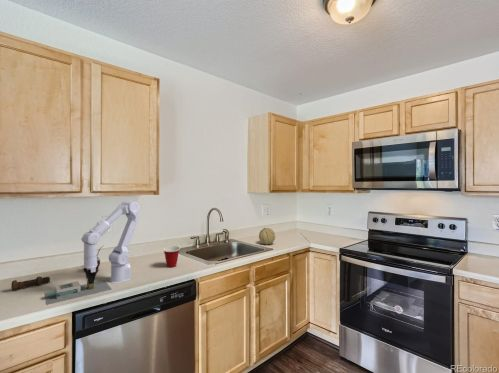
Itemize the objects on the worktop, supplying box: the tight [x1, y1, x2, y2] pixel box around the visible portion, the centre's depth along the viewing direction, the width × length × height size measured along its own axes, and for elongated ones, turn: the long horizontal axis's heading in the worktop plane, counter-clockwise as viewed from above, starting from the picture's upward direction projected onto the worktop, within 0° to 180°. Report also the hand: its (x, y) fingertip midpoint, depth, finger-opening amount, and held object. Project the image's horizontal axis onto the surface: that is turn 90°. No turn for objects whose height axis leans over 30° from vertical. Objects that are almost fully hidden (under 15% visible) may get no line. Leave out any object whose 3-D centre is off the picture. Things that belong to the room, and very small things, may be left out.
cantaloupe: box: [258, 227, 276, 245], centre depth 232 cm, size 15×15×15 cm
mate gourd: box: [96, 244, 105, 270], centre depth 159 cm, size 8×8×15 cm
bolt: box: [10, 276, 51, 292], centre depth 134 cm, size 6×5×15 cm
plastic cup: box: [162, 245, 181, 268], centre depth 168 cm, size 11×11×12 cm
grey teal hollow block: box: [45, 280, 81, 299], centre depth 123 cm, size 13×8×4 cm, turn 131°
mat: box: [44, 280, 112, 306], centre depth 128 cm, size 26×16×1 cm, turn 131°
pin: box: [86, 269, 94, 290], centre depth 131 cm, size 3×3×10 cm
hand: (90, 282), depth 131 cm, fingers closed on pin, 3 cm apart
